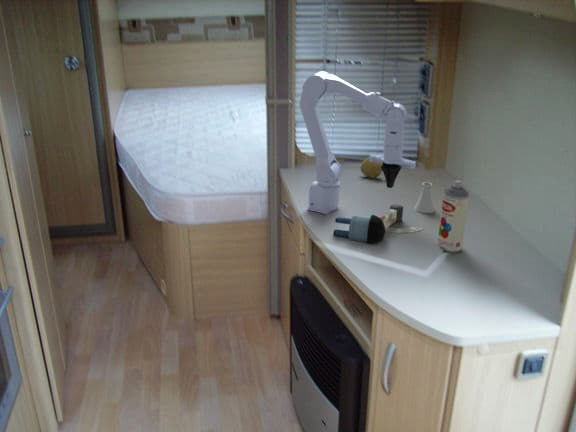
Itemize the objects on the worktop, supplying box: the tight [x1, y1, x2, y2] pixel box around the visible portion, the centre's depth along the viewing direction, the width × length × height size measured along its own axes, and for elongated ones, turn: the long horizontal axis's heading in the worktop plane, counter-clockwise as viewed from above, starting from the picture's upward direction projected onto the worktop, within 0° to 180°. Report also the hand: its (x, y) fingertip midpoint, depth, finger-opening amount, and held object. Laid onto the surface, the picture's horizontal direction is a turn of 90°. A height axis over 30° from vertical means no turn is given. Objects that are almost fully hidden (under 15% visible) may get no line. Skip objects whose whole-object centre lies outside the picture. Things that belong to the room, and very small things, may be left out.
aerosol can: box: [437, 179, 470, 255], centre depth 165 cm, size 7×7×20 cm
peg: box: [379, 204, 404, 230], centre depth 180 cm, size 14×4×5 cm, turn 147°
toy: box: [332, 214, 386, 245], centre depth 171 cm, size 8×9×15 cm
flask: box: [413, 181, 435, 214], centre depth 192 cm, size 7×7×10 cm
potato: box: [360, 156, 383, 179], centre depth 225 cm, size 7×8×8 cm
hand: (390, 186), depth 186 cm, fingers closed
